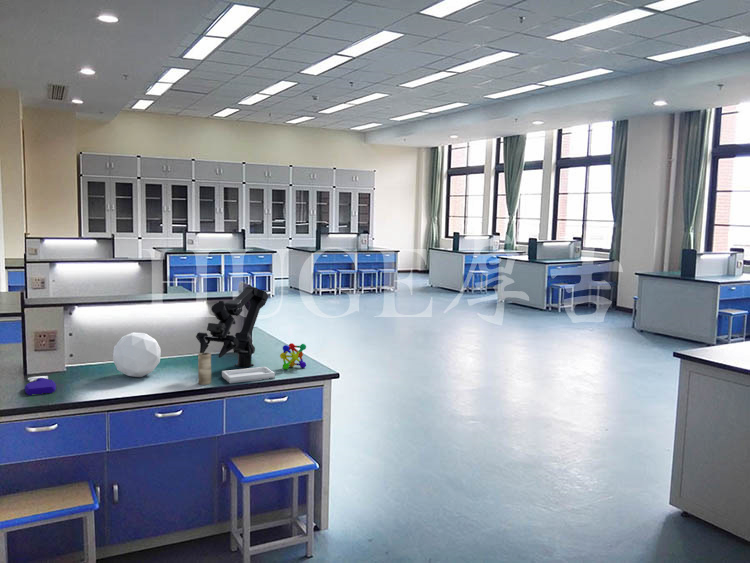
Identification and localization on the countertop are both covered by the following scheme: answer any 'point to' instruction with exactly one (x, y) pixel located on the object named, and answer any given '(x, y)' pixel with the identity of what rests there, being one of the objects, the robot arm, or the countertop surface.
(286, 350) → the molecular model
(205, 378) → the maple post
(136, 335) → the geometric polyhedron
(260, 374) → the grey tray
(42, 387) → the spray bottle
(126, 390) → the countertop surface
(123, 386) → the countertop surface
